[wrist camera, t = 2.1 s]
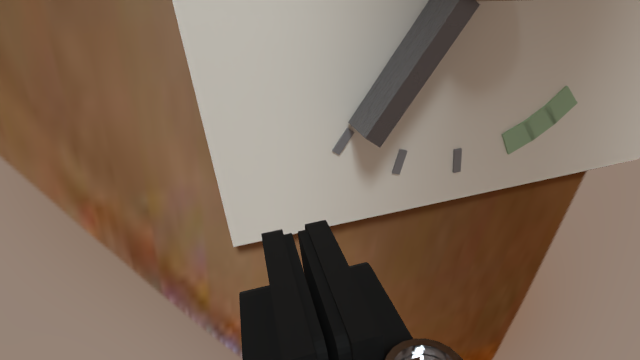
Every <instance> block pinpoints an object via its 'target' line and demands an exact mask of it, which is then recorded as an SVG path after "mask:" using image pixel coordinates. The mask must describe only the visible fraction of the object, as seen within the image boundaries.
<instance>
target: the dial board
mask: <svg viewBox="0 0 640 360" xmlns="http://www.w3.org/2000/svg"><path fill="white" fill-rule="evenodd" d="M172 1H173V5H174V9H175V14H176V18H177V22H178V26H179V30H180V34H181V38H182V42H183V46H184V50H185V54H186V58H187V62H188V66H189V70H190V74H191V78H192V82H193V86H194V90H195V94H196V98H197V102H198V106H199V110H200V114H201V118H202V122H203V126H204V130H205V134H206V138H207V142H208V146H209V150H210V154H211V158H212V162H213V166H214V170H215V174H216V178H217V182H218V187H219V191H220V195H221V199H222V203H223V207H224V211H225V215H226V219H227V223H228V227H229V231H230V235H231V239H232V243H233V247H236V246H240V245H245V244H250V243H254V242H259V241H262V236H261V234H262V233H267V232H271V231H276V230H281V229H282V230H283V234H289V233H292V234H296V233H298V231H302V230H305V224H308V223H313V222H318V221H322V220H326V221H327V223H328V225H329V226H333V225H338V224H342V223H347V222H351V221H356V220H361V219H365V218H370V217H375V216H379V215H384V214H388V213H393V212H398V211H402V210H407V209H412V208H416V207H421V206H425V205H430V204H435V203H439V202H444V201H449V200H453V199H458V198H462V197H467V196H472V195H476V194H481V193H486V192H490V191H495V190H499V189H504V188H509V187H513V186H518V185H523V184H527V183H532V182H536V181H541V180H546V179H550V178H555V177H560V176H564V175H569V174H573V173H578V172H583V171H587V170H592V169H597V168H601V167H605V166H610V165H615V164H619V163H624V162H629V161H634V160H638V159H639V158H640V0H512V1H477V2H478V3H479V4H480V5H479V7H478V8H477V10H476V11H475V13H474V14H473V15H472V17H471V18H470V20H469V21H468V23H467V24H466V26H465V27H464V28H463V30H462V31H461V33H460V34H459V36H458V37H457V38H456V40H455V41H454V43H453V44H452V46H451V47H450V48H449V50H448V51H447V53H446V54H445V56H444V57H443V58H442V60H441V61H440V63H439V64H438V66H437V67H436V68H435V70H434V71H433V73H432V74H431V76H430V77H429V79H428V80H427V81H426V83H425V84H424V86H423V87H422V89H421V90H420V91H419V93H418V94H417V96H416V97H415V99H414V100H413V101H412V103H411V104H410V106H409V107H408V109H407V110H406V111H405V113H404V114H403V116H402V117H401V119H400V120H399V121H398V123H397V124H396V126H395V127H394V129H393V130H392V132H391V133H390V134H389V136H388V137H387V139H386V140H385V142H384V143H383V144H382V146H381V147H378V146H377V145H375V144H373V143H372V142H370V141H369V140H367V139H365V138H364V137H363V136H362V135H361V134H360V133H359V132H358V131H357V130H356V129H355V128H354V127H352V126H351V125H350V124H349V123H348V122H349V120H350V119H351V117H352V116H353V114H354V113H355V111H356V110H357V108H358V107H359V105H360V104H361V102H362V101H363V99H364V98H365V96H366V95H367V93H368V92H369V90H370V89H371V87H372V85H373V84H374V82H375V81H376V79H377V78H378V76H379V75H380V73H381V72H382V70H383V69H384V67H385V66H386V64H387V63H388V61H389V60H390V58H391V57H392V55H393V54H394V52H395V51H396V49H397V48H398V46H399V45H400V43H401V42H402V40H403V39H404V37H405V36H406V34H407V33H408V31H409V30H410V28H411V27H412V25H413V24H414V22H415V21H416V19H417V18H418V16H419V15H420V13H421V12H422V10H423V8H424V7H425V5H426V4H427V2H428V1H429V0H172Z"/></svg>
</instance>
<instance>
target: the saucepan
mask: <svg viewBox="0 0 640 360" xmlns="http://www.w3.org/2000/svg"><path fill="white" fill-rule="evenodd" d="M477 1H512V0H429V1H428V2H427V4H426V5H425V7H424V8H423V10H422V12H421V13H420V15H419V16H418V18H417V19H416V21H415V22H414V24H413V25H412V27H411V28H410V30H409V31H408V33H407V34H406V36H405V37H404V39H403V40H402V42H401V43H400V45H399V46H398V48H397V49H396V51H395V52H394V54H393V55H392V57H391V58H390V60H389V61H388V63H387V64H386V66H385V67H384V69H383V70H382V72H381V73H380V75H379V76H378V78H377V79H376V81H375V82H374V84H373V85H372V87H371V89H370V90H369V92H368V93H367V95H366V96H365V98H364V99H363V101H362V102H361V104H360V105H359V107H358V108H357V110H356V111H355V113H354V114H353V116H352V117H351V119H350V120H349V122H348V123H349V124H350V125H351V126H352V127H354V128H355V129H356V130H357V131H358V132H359V133H360V134H361V135H362V136H363V137H364V138H365V139H367V140H369V141H370V142H372V143H373V144H375V145H377V146H378V147H381V146H382V144H383V143H384V142H385V140H386V139H387V137H388V136H389V134H390V133H391V132H392V130H393V129H394V127H395V126H396V124H397V123H398V121H399V120H400V119H401V117H402V116H403V114H404V113H405V111H406V110H407V109H408V107H409V106H410V104H411V103H412V101H413V100H414V99H415V97H416V96H417V94H418V93H419V91H420V90H421V89H422V87H423V86H424V84H425V83H426V81H427V80H428V79H429V77H430V76H431V74H432V73H433V71H434V70H435V68H436V67H437V66H438V64H439V63H440V61H441V60H442V58H443V57H444V56H445V54H446V53H447V51H448V50H449V48H450V47H451V46H452V44H453V43H454V41H455V40H456V38H457V37H458V36H459V34H460V33H461V31H462V30H463V28H464V27H465V26H466V24H467V23H468V21H469V20H470V18H471V17H472V15H473V14H474V13H475V11H476V10H477V8H478V7H479V5H480V4H479V3H478V2H477Z"/></svg>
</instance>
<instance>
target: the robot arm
mask: <svg viewBox="0 0 640 360" xmlns="http://www.w3.org/2000/svg"><path fill="white" fill-rule="evenodd" d="M261 236H262V242H263V248H264V254H265V260H266V266H267V272H268V278H269V284H270V285H269V286H264V287H260V288H256V289H252V290H248V291H243V292H240V294H239V295H240V318H241V337H242V356H243V360H463V359H462V358H461V357H460V356H459V355H458V354H457V353H456V352H455V351H453V350H452V349H451V348H450V347H448V346H446V345H444V344H442V343H440V342H438V341H434V340H429V339H413V338H412V336H411V335H410V333H409V331H408V330H407V328H406V326H405V324H404V323H403V321H402V319H401V318H400V316H399V314H398V312H397V311H396V309H395V307H394V306H393V304H392V302H391V300H390V299H389V297H388V295H387V294H386V292H385V290H384V288H383V287H382V285H381V283H380V282H379V280H378V278H377V276H376V275H375V273H374V271H373V270H372V268H371V266H370V265H369V264H368V263H367V262H365V263H361V264H357V265H353V266H349V265H348V263H347V261H346V259H345V257H344V255H343V253H342V251H341V249H340V247H339V245H338V243H337V241H336V239H335V237H334V235H333V233H332V231H331V229H330V227H329V225H328V223H327V221H326V220H322V221H318V222H313V223H308V224H305V230H302V231H298V237H299V244H300V250H301V256H302V262H303V268H302V265H301V262H300V258H299V255H298V252H297V249H296V245H295V242H294V239H293V236H292V233H289V234H283V230H282V229H281V230H276V231H271V232H267V233H262V234H261ZM303 269H304V271H303Z"/></svg>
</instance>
